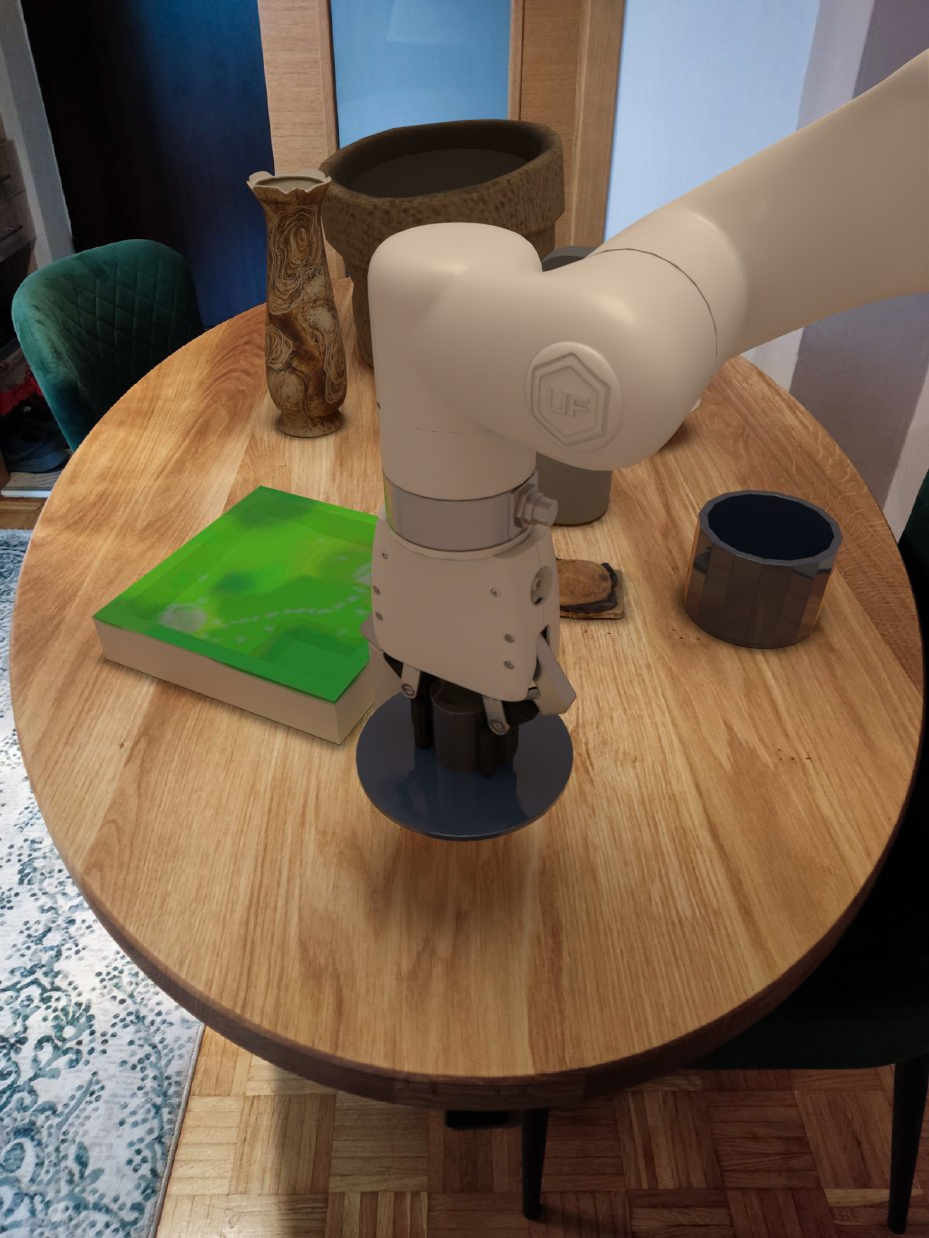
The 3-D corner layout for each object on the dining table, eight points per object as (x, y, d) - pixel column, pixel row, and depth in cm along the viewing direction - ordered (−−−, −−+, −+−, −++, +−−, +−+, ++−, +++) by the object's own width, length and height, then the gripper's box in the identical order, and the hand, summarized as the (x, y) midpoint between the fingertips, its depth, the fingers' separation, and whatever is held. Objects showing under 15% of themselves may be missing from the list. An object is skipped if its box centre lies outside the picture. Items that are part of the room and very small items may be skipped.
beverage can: (402, 711, 75) (395, 599, 68) (447, 735, 73) (445, 622, 65) (365, 744, 72) (353, 632, 65) (411, 770, 70) (404, 657, 62)
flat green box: (266, 524, 98) (260, 485, 95) (469, 581, 90) (469, 540, 86) (106, 658, 80) (91, 616, 77) (340, 744, 72) (334, 700, 69)
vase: (262, 415, 119) (224, 173, 100) (335, 398, 123) (312, 163, 105) (290, 447, 112) (255, 193, 93) (366, 428, 116) (347, 181, 97)
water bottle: (509, 518, 99) (519, 261, 81) (531, 477, 106) (544, 233, 89) (598, 534, 96) (628, 272, 79) (615, 490, 104) (645, 242, 86)
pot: (368, 304, 153) (354, 107, 134) (567, 317, 148) (582, 114, 129) (300, 387, 126) (271, 156, 108) (540, 407, 121) (553, 168, 102)
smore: (622, 573, 91) (626, 543, 89) (624, 624, 84) (628, 593, 82) (519, 566, 92) (521, 536, 89) (513, 616, 85) (515, 585, 83)
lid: (607, 731, 58) (615, 662, 54) (507, 886, 49) (509, 815, 45) (431, 662, 63) (428, 595, 60) (313, 790, 54) (300, 719, 51)
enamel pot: (829, 593, 88) (855, 512, 82) (797, 665, 80) (823, 581, 74) (707, 556, 93) (724, 477, 87) (664, 620, 85) (679, 538, 79)
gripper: (645, 504, 43) (611, 759, 55) (367, 428, 50) (388, 669, 61) (580, 582, 38) (558, 845, 49) (281, 486, 45) (322, 736, 56)
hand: (464, 745), depth 55 cm, fingers closed on lid, 4 cm apart
